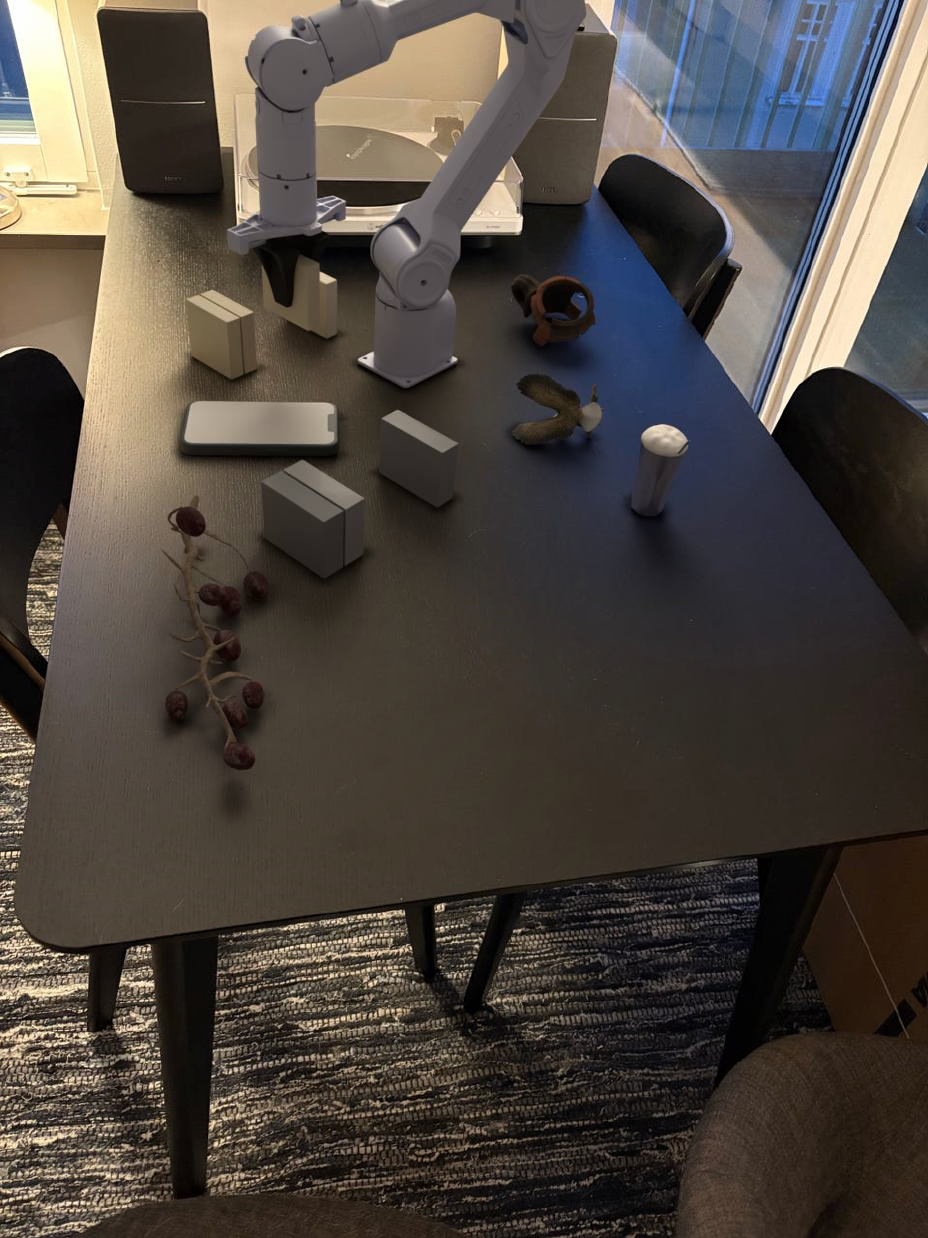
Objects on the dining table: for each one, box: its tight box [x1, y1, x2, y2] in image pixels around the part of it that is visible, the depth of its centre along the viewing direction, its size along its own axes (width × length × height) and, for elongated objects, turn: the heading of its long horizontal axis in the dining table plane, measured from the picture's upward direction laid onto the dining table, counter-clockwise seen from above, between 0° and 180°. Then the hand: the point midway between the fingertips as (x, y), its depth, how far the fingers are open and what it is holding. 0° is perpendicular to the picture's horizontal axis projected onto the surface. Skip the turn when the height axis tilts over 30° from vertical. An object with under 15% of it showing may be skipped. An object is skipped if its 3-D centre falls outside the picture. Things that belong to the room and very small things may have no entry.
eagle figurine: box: [511, 372, 605, 446], centre depth 106 cm, size 8×7×9 cm
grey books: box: [260, 409, 459, 580], centre depth 92 cm, size 18×8×6 cm, turn 140°
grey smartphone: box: [179, 400, 340, 457], centre depth 102 cm, size 9×2×16 cm
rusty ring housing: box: [510, 274, 597, 347], centre depth 123 cm, size 12×10×8 cm
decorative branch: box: [160, 494, 270, 771], centre depth 79 cm, size 11×9×30 cm
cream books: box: [185, 271, 338, 380], centre depth 113 cm, size 17×7×7 cm, turn 140°
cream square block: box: [261, 254, 321, 332], centre depth 103 cm, size 2×7×7 cm, turn 50°
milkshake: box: [630, 423, 692, 517], centre depth 96 cm, size 5×5×10 cm
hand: (291, 300), depth 105 cm, fingers closed on cream square block, 2 cm apart
